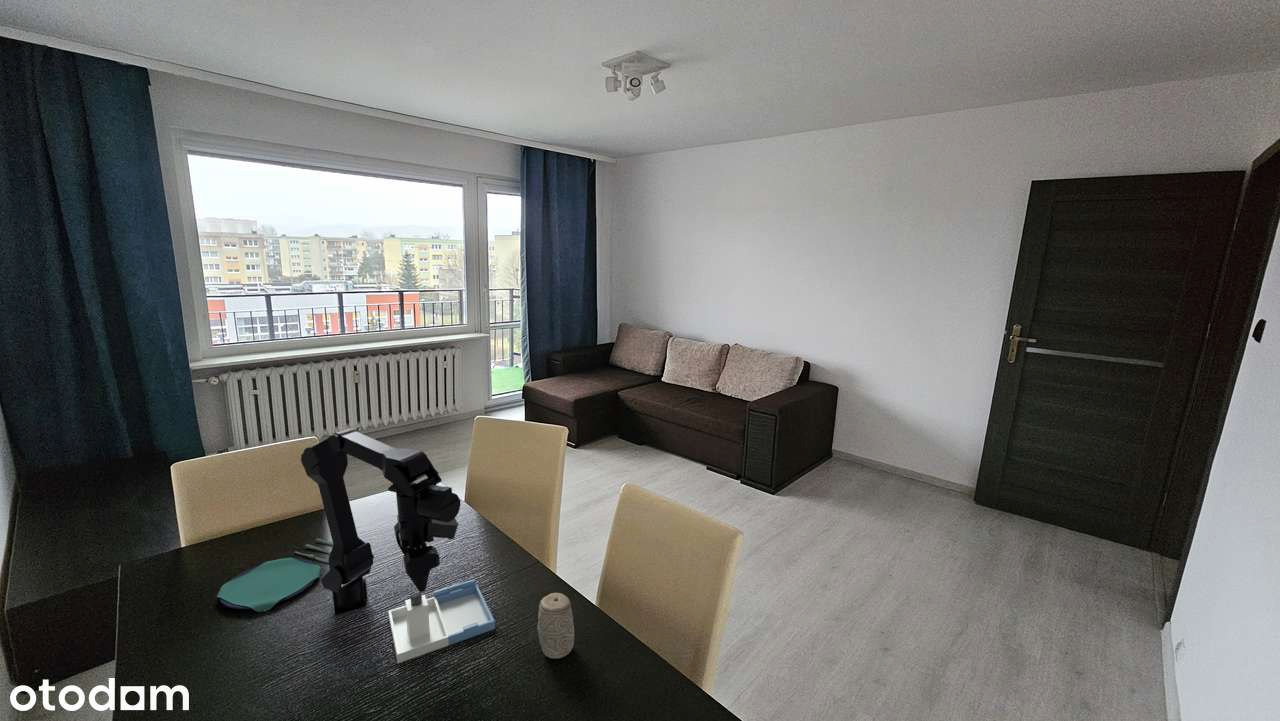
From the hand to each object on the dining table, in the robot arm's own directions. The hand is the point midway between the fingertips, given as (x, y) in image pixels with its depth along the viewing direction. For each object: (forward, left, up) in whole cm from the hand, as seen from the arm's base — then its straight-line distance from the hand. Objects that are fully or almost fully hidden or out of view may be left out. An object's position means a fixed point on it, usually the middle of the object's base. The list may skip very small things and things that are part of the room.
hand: (418, 579), depth 109 cm
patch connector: (-1, 0, -12) cm, 12 cm away
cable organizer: (+4, 0, -13) cm, 13 cm away
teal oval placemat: (-25, +38, -13) cm, 47 cm away
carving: (+23, -20, -13) cm, 33 cm away
